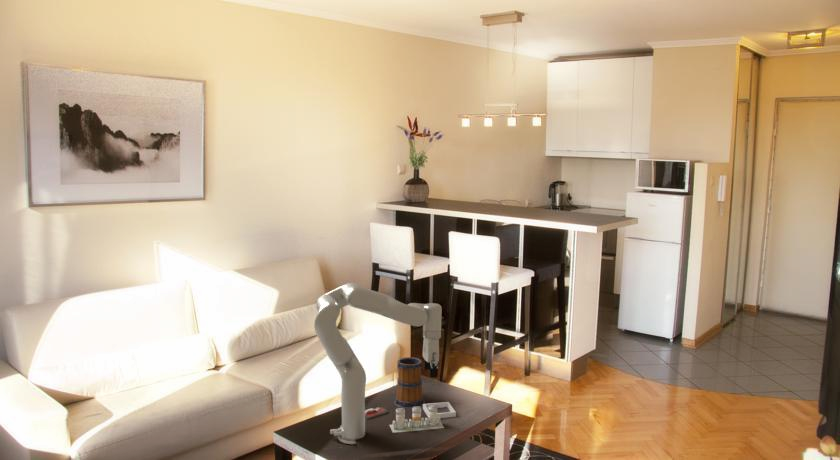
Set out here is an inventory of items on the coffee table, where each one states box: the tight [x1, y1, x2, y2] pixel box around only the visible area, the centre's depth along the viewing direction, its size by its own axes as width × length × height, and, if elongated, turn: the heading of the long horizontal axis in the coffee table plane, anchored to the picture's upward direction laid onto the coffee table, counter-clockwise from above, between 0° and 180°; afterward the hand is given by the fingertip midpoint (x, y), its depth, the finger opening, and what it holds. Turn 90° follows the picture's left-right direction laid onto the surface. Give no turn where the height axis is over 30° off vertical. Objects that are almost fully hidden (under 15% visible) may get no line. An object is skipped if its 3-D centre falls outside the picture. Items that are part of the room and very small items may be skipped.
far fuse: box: [428, 405, 438, 427], centre depth 281 cm, size 4×4×8 cm
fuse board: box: [389, 417, 445, 434], centre depth 280 cm, size 22×8×4 cm, turn 103°
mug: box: [393, 356, 426, 409], centre depth 311 cm, size 19×14×20 cm
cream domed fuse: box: [395, 407, 406, 430], centre depth 278 cm, size 4×4×8 cm
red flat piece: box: [365, 406, 388, 421], centre depth 291 cm, size 9×4×20 cm
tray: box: [422, 401, 457, 419], centre depth 295 cm, size 12×12×4 cm
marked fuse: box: [411, 406, 422, 428], centre depth 280 cm, size 4×4×8 cm
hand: (430, 373), depth 278 cm, fingers open, 9 cm apart
